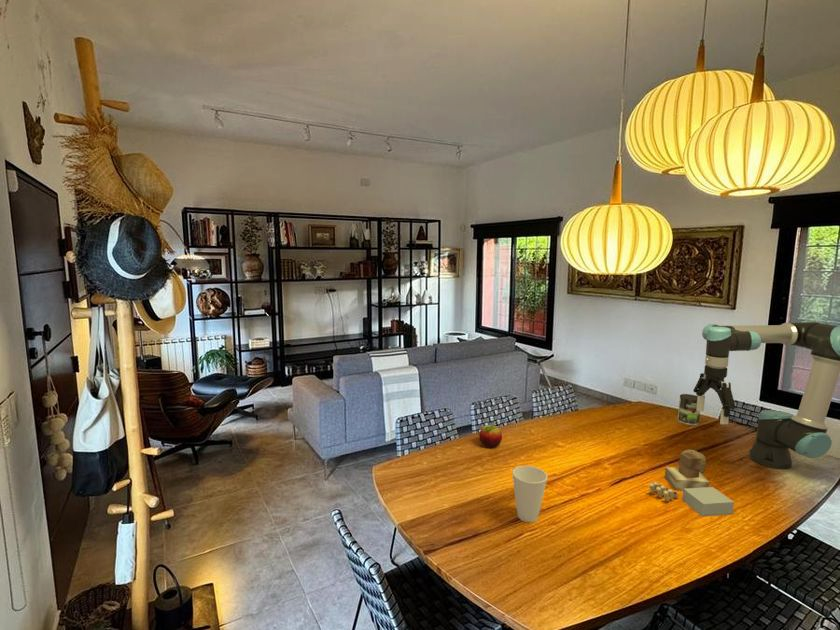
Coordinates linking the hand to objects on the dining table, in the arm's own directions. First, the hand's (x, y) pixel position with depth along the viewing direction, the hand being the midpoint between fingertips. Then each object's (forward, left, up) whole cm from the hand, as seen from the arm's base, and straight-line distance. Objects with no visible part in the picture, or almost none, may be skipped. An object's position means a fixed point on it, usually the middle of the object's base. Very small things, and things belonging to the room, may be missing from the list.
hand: (711, 417), depth 178 cm
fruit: (+82, -33, -27) cm, 93 cm away
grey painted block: (+12, +19, -27) cm, 35 cm away
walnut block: (+10, +4, -22) cm, 25 cm away
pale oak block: (+10, +4, -27) cm, 30 cm away
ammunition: (+25, +12, -27) cm, 39 cm away
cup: (+80, +23, -27) cm, 88 cm away
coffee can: (-33, -60, -27) cm, 73 cm away
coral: (-1, -9, -27) cm, 29 cm away
